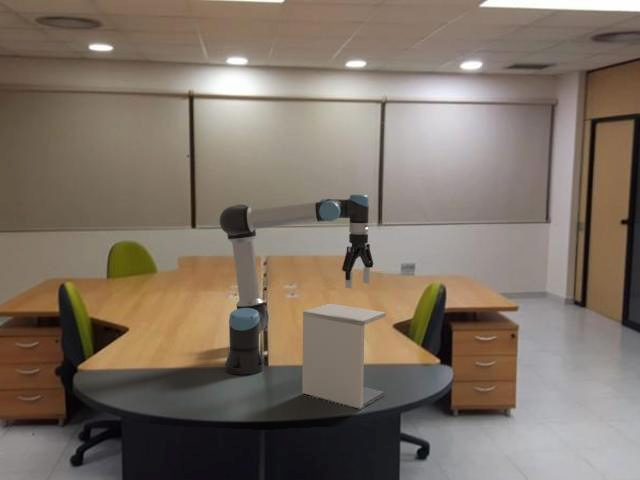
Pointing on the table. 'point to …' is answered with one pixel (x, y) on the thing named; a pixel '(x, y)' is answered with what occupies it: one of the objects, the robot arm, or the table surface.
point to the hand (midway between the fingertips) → (357, 285)
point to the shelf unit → (336, 353)
